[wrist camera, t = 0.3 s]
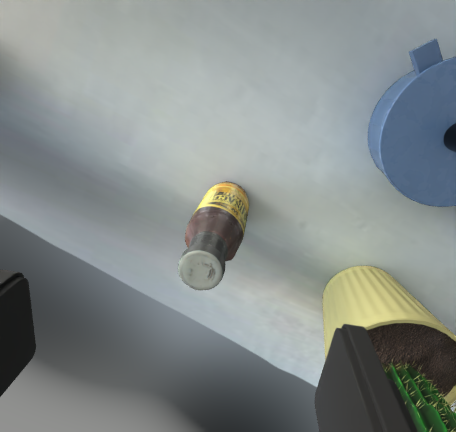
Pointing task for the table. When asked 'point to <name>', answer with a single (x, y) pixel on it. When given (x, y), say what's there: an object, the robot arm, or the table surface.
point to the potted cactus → (398, 341)
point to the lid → (423, 137)
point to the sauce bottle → (213, 235)
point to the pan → (421, 61)
